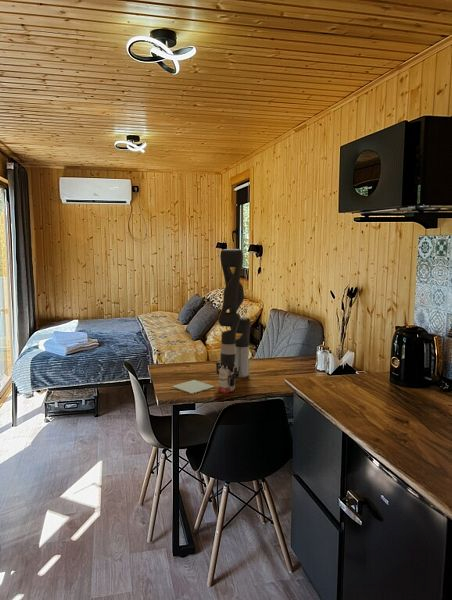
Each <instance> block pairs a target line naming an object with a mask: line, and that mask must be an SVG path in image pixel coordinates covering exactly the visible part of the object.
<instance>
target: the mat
mask: <svg viewBox="0 0 452 600" xmlns="http://www.w3.org/2000/svg"><path fill="white" fill-rule="evenodd" d="M214 387H215V386H214V385H212V384H208V383H205V382H202V381H199V380H196V379H192V380H190V381H189V380H188V381H185V382H181V383H178V384H175V385H171V388H174V389H175V390H178V389H179V391H181V390H182V392H184V391H185V392H184V393H187V392H188V393H187V394H190V395H195V394H198V393H201V392H204V390H205V391H207V389H208V390H210V389H214ZM197 392H198V393H197ZM194 393H195V394H194Z"/></svg>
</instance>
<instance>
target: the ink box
mask: <svg viewBox="0 0 452 600" xmlns="http://www.w3.org/2000/svg"><path fill="white" fill-rule="evenodd" d="M231 373H232V372H231ZM232 377H233V376H232ZM230 379H231V378H230V375H229V370H227V369H226V368H222V367H221V368H220V369H219V374H218V392H219V393H224V394H228V393H230V392H233V391H235V390H234V389H236V383H235V384H234V386H232V387H231V386H230Z"/></svg>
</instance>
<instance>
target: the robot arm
mask: <svg viewBox="0 0 452 600" xmlns="http://www.w3.org/2000/svg"><path fill="white" fill-rule="evenodd" d="M219 255H220V257H219V259H220V265H221V268H222V272H223V273H222V274H223V278H224V285H225V286H224V287H225V288H224V291H223V296H222V298H223V300H222V307H221V310H220V313H219V316H218V319H217V321H218V324H219V326H221V327H230V329H229V330H225V331H222V332H221V339H220V340H221V341H220V354H219V355H220V358H219V359H220V361H217V362H215V364H216V365H215V367H216V369H215V370H216V374H217V375H219V369H220V368H226V369H227V370H229V375H230V378H231V379H230V386H231V387H232V386H234V384H235V385H236V380H237V379H238V378H241V379H242V378H247V377H248V376H249V375H250V358H249V355H250V353H249V352H250V350H249V349H250V335H251V326H252V325H251V323H252V322H251V319H250V318H249V317H246V316H240V314H239V313H238V310H239V308H240V306H241V305H242V304H243V302H244V300H245V292H244V291H245V290H244V286H243V284H242V282H241V281H240V280H241V276H242V269H243V262H244V254H243V251H242V249H239V248H224V249H222V250H221V251H220V254H219ZM231 268H234V272H232V269H231ZM227 311H228V312H227ZM237 334H241V335H242V336H241V337H239V338H237ZM231 372H232V373H231ZM232 376H233V377H232Z"/></svg>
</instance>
